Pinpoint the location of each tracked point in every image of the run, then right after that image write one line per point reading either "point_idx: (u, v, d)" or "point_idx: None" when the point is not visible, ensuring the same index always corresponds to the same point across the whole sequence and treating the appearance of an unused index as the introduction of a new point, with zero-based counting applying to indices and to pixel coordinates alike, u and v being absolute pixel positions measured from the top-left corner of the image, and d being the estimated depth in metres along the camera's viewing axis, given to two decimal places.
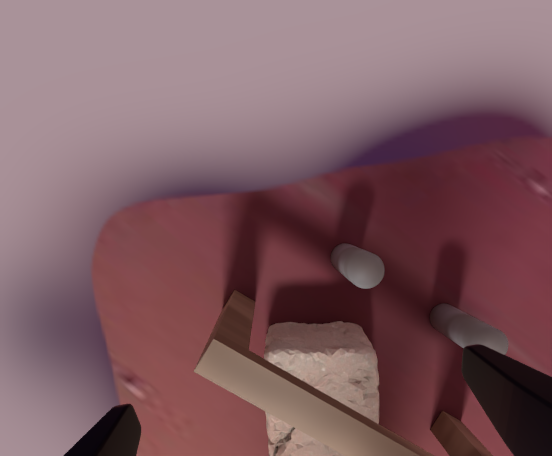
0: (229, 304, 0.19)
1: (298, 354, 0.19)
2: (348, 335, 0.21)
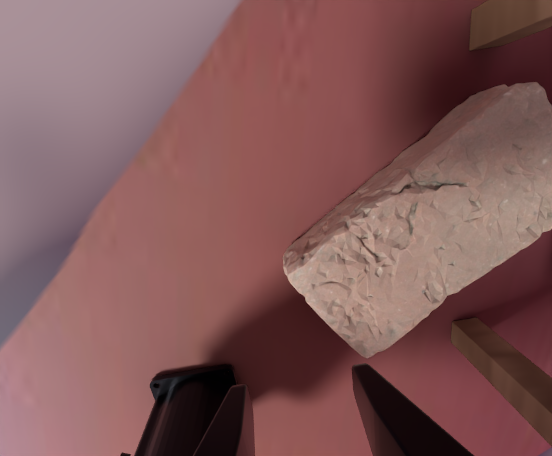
0: None
1: None
2: None
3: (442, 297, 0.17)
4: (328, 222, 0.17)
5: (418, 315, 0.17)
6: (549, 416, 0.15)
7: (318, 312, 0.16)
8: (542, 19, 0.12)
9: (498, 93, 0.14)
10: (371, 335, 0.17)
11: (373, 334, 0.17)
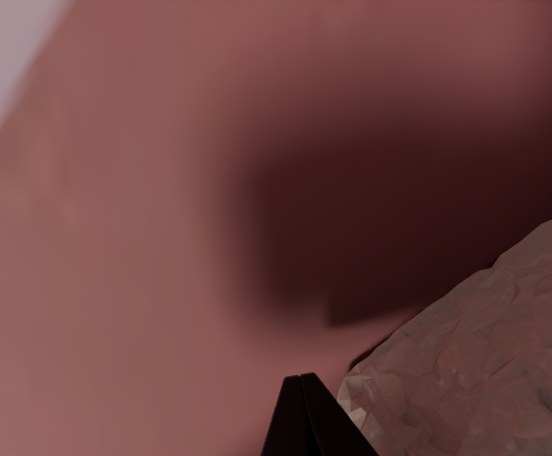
0: None
1: None
2: None
3: None
4: (453, 352, 0.07)
5: None
6: None
7: None
8: None
9: None
10: None
11: None
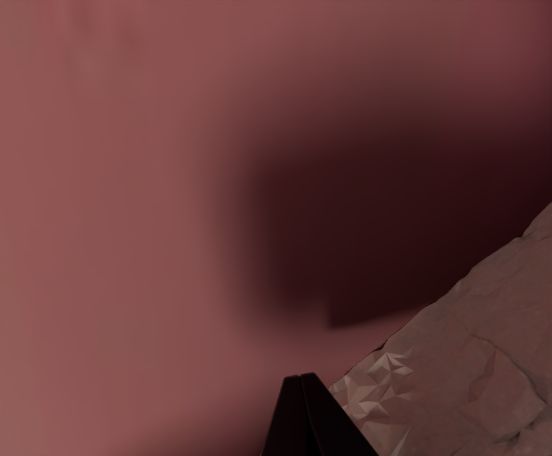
0: None
1: None
2: None
3: None
4: None
5: None
6: None
7: None
8: None
9: None
10: None
11: None
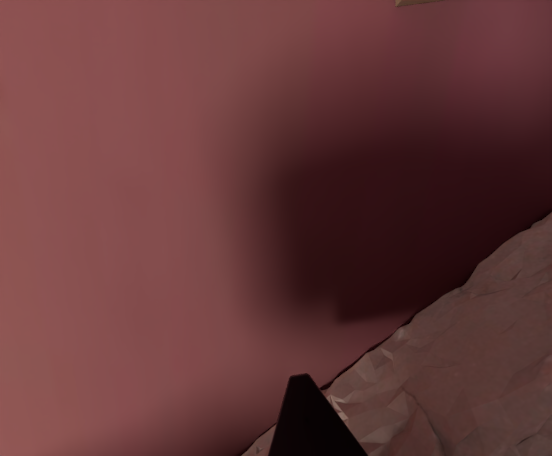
0: None
1: None
2: None
3: None
4: None
5: None
6: None
7: None
8: None
9: None
10: None
11: None
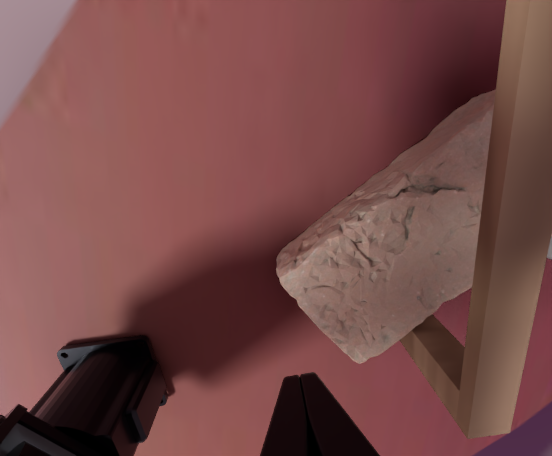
0: None
1: None
2: None
3: (437, 304, 0.16)
4: (323, 224, 0.16)
5: (412, 321, 0.16)
6: (455, 390, 0.13)
7: (310, 316, 0.16)
8: None
9: None
10: (364, 340, 0.17)
11: (366, 339, 0.17)
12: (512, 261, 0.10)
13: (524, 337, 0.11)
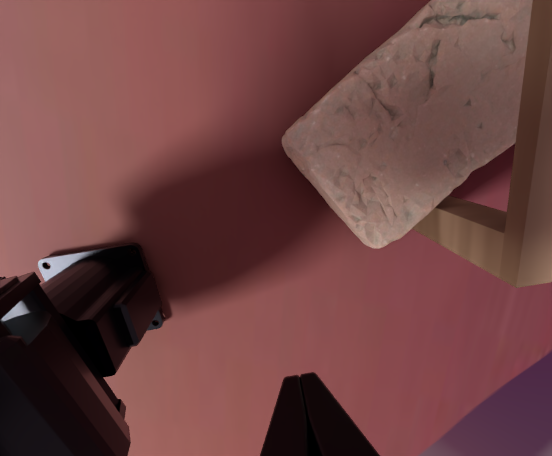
0: None
1: None
2: None
3: (466, 172, 0.14)
4: None
5: (438, 192, 0.14)
6: (498, 238, 0.11)
7: (323, 183, 0.14)
8: None
9: None
10: (384, 217, 0.15)
11: (387, 216, 0.15)
12: None
13: None
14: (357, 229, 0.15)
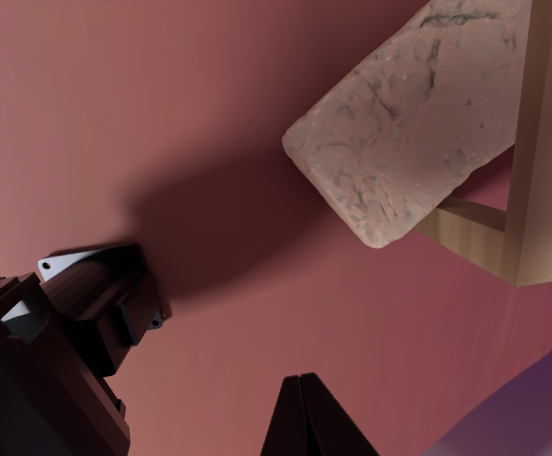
0: None
1: None
2: None
3: (467, 171, 0.14)
4: None
5: (439, 191, 0.14)
6: (497, 237, 0.11)
7: (323, 183, 0.14)
8: None
9: None
10: (385, 217, 0.15)
11: (387, 216, 0.15)
12: None
13: None
14: (358, 229, 0.15)
